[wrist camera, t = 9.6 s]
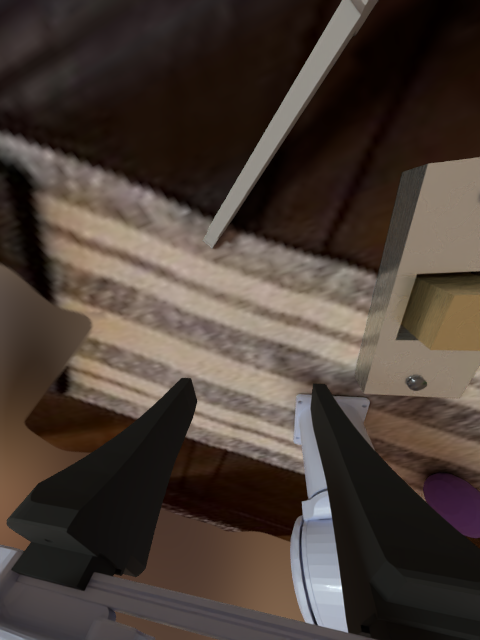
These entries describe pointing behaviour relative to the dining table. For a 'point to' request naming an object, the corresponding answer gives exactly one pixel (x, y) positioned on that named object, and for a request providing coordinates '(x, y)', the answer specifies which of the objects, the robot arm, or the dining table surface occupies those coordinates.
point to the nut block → (445, 311)
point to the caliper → (292, 107)
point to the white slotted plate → (400, 273)
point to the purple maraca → (454, 502)
